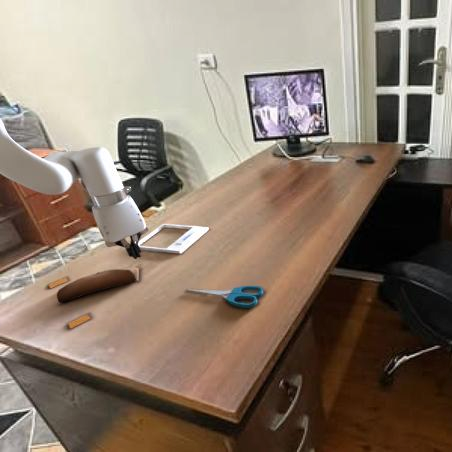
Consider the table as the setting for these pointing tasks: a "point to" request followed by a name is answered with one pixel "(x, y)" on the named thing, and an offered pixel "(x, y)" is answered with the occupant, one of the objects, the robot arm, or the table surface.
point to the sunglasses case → (97, 283)
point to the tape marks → (77, 321)
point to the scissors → (236, 295)
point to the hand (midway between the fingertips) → (136, 256)
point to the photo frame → (178, 244)
